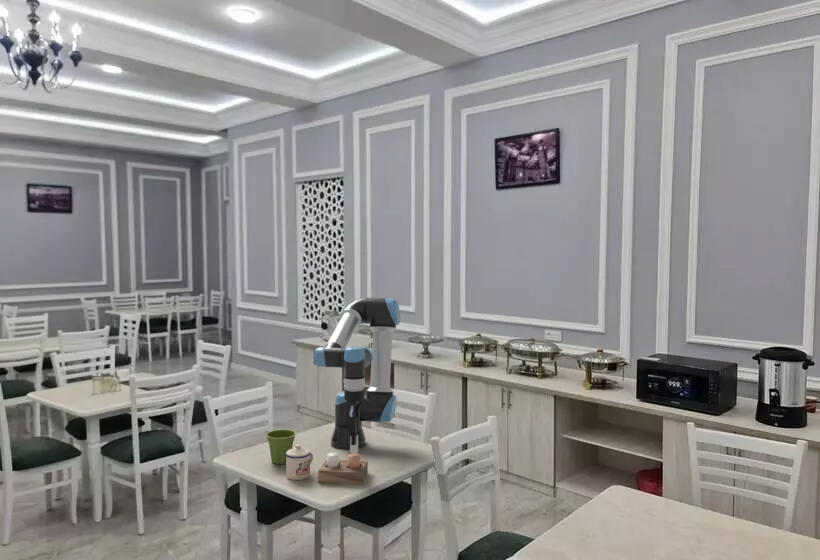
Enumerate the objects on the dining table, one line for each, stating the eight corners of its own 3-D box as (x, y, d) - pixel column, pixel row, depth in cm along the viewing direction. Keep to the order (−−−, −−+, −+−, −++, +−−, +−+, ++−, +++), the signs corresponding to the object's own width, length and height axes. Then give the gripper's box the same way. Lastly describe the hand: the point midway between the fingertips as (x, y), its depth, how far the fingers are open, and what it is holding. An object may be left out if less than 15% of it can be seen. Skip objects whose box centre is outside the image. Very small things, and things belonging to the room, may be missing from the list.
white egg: (328, 468, 216) (328, 452, 216) (340, 468, 215) (340, 452, 215) (325, 472, 211) (325, 456, 211) (337, 473, 211) (337, 456, 211)
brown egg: (349, 469, 215) (349, 453, 215) (361, 469, 215) (361, 453, 214) (347, 473, 211) (347, 457, 210) (358, 474, 210) (358, 457, 210)
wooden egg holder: (326, 470, 220) (326, 459, 220) (367, 472, 218) (367, 461, 218) (318, 482, 208) (318, 470, 208) (361, 484, 206) (361, 472, 206)
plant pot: (285, 468, 222) (285, 439, 222) (259, 464, 227) (259, 435, 226) (302, 458, 233) (302, 431, 233) (277, 454, 238) (277, 427, 237)
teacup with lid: (297, 482, 208) (297, 450, 208) (280, 476, 213) (280, 445, 213) (320, 472, 218) (321, 442, 218) (303, 467, 223) (303, 437, 223)
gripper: (348, 385, 218) (347, 446, 219) (340, 392, 205) (340, 458, 206) (367, 385, 218) (367, 447, 218) (361, 393, 205) (360, 458, 205)
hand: (354, 452), depth 212 cm, fingers closed
